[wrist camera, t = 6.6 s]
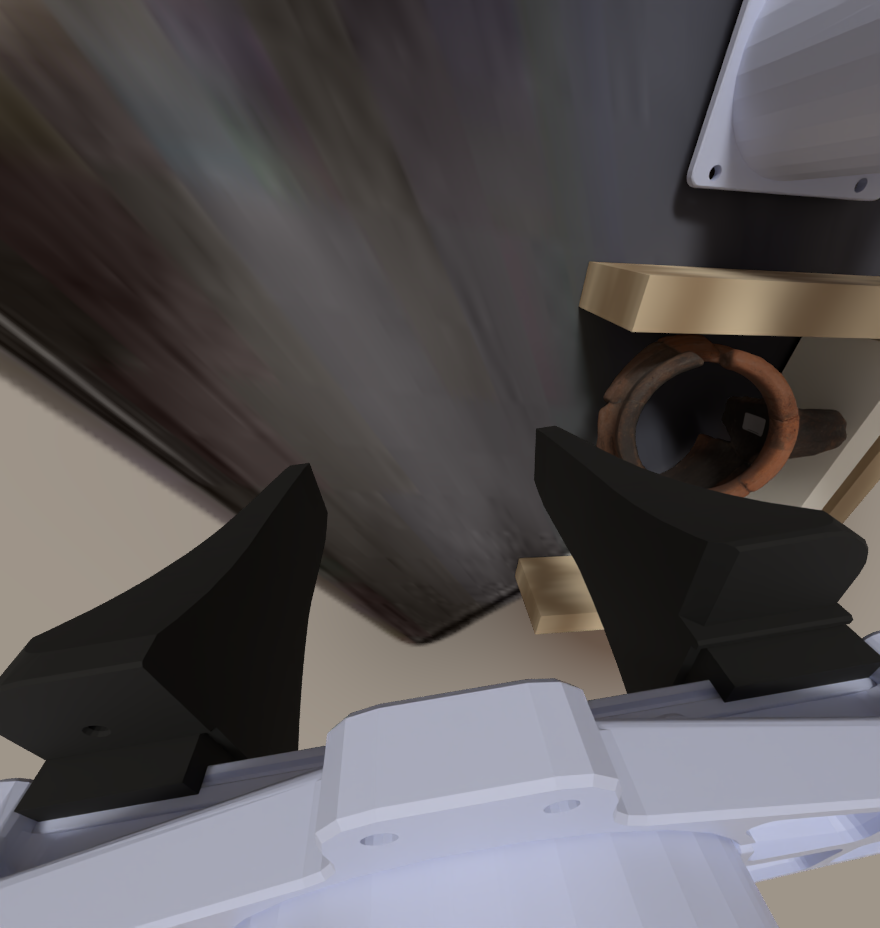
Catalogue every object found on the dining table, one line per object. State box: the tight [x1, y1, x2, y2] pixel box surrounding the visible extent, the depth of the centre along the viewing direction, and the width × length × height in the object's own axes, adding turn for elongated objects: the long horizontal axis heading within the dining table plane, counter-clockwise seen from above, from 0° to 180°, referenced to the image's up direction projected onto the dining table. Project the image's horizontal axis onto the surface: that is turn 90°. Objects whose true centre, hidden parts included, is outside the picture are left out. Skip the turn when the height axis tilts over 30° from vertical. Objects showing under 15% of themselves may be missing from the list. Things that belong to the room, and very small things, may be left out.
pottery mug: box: [596, 334, 847, 497], centre depth 20 cm, size 12×9×8 cm
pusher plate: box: [744, 337, 880, 510], centre depth 23 cm, size 2×17×5 cm, turn 177°
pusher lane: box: [515, 262, 880, 634], centre depth 23 cm, size 18×22×5 cm
